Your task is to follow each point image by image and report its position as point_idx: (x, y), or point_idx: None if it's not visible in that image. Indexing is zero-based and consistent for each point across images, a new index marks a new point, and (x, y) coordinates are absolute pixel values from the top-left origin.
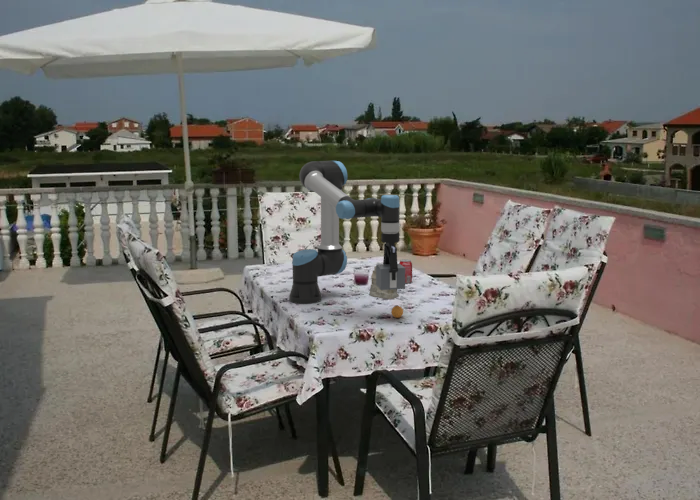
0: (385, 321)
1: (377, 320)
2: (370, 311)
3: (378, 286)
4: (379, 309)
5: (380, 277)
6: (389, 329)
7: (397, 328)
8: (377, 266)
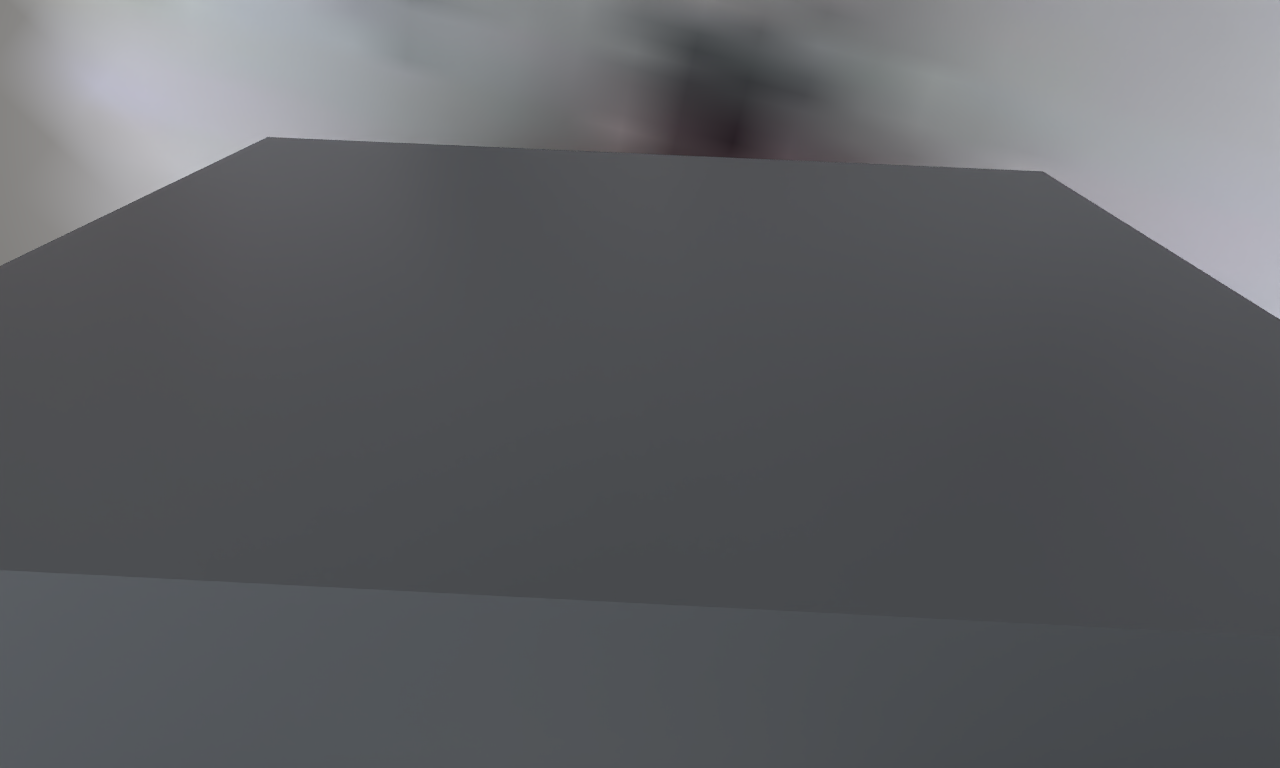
0: (503, 115)
1: (576, 3)
2: (1147, 17)
3: (657, 160)
4: (1197, 196)
5: (109, 264)
6: (84, 66)
7: (142, 190)
8: (1076, 580)
